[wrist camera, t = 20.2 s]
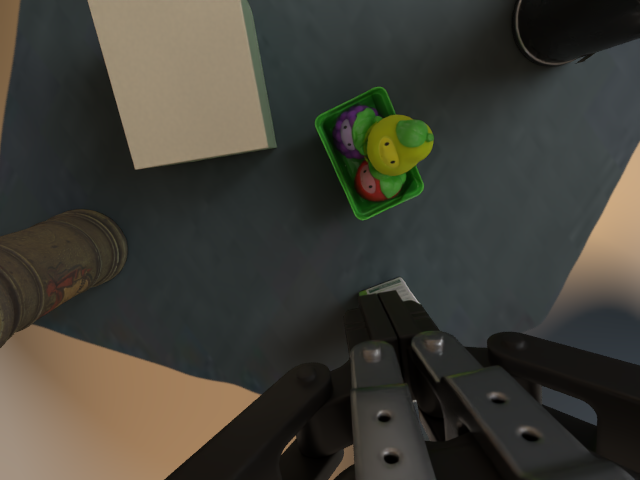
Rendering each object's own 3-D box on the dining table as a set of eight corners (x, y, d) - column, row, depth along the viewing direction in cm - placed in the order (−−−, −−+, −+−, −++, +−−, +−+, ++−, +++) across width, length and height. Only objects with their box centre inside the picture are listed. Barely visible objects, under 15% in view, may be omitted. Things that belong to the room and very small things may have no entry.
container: (32, 234, 42) (-161, 296, 25) (93, 192, 41) (-64, 225, 24) (85, 295, 44) (-59, 392, 27) (145, 256, 43) (35, 330, 26)
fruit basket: (310, 122, 40) (311, 112, 29) (384, 85, 40) (414, 61, 29) (352, 214, 43) (368, 237, 32) (422, 181, 42) (463, 193, 31)
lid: (87, -16, 29) (81, -20, 28) (233, -41, 29) (231, -46, 28) (138, 169, 32) (134, 169, 31) (268, 147, 32) (268, 147, 31)
